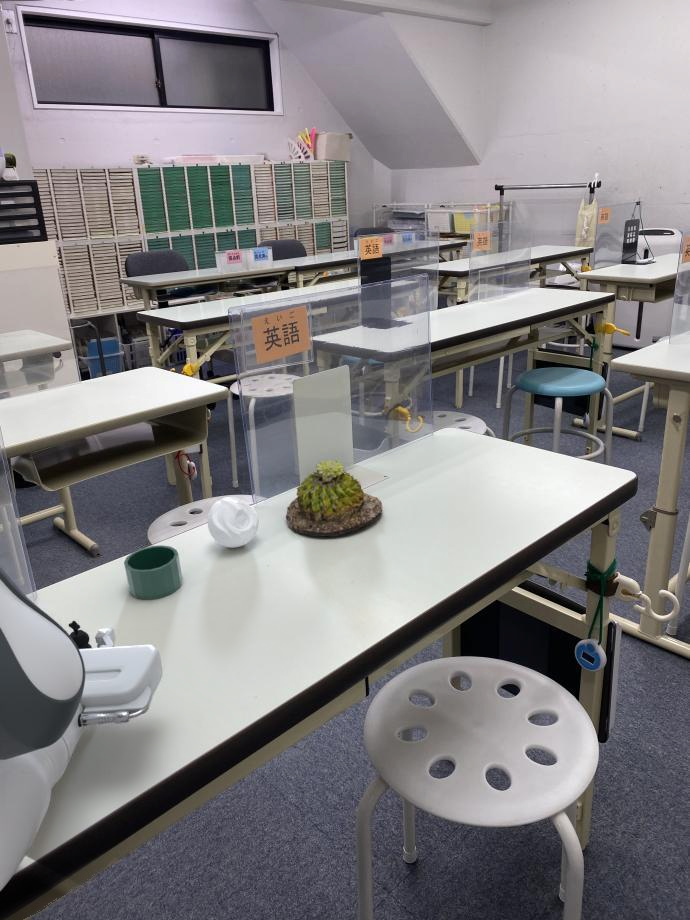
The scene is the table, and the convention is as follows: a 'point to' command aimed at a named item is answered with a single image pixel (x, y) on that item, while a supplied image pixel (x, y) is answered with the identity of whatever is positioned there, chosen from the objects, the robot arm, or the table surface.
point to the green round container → (153, 572)
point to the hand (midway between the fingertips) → (80, 635)
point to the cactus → (331, 503)
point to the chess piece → (79, 636)
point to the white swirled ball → (232, 522)
